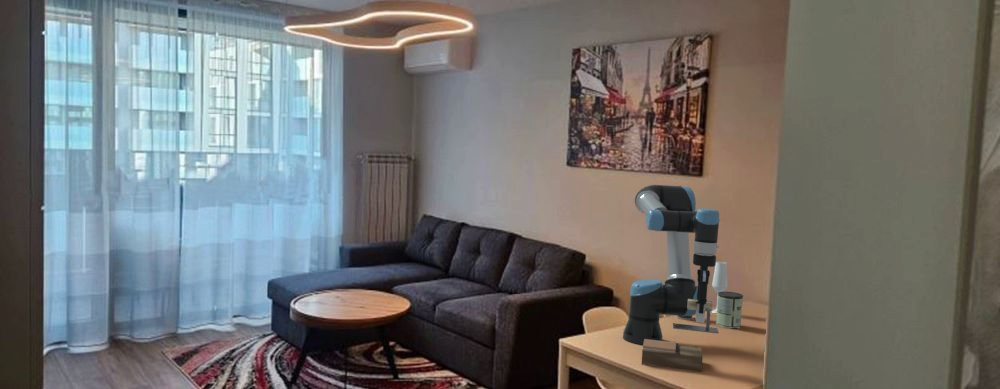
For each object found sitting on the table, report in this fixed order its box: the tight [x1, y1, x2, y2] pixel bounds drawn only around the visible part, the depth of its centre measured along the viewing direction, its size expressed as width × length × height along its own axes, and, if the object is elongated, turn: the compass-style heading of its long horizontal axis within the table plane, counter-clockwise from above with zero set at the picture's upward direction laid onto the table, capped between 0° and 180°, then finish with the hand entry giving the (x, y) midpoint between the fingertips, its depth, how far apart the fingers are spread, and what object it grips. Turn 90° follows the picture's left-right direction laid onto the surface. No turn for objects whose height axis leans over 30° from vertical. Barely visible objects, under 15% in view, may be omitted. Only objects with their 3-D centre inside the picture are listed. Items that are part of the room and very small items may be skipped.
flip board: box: [641, 343, 703, 373], centre depth 236 cm, size 12×20×6 cm, turn 76°
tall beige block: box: [672, 299, 719, 334], centre depth 233 cm, size 15×6×10 cm, turn 76°
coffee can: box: [715, 291, 744, 329], centre depth 292 cm, size 10×10×14 cm
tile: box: [642, 339, 677, 353], centre depth 237 cm, size 9×11×1 cm
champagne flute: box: [711, 261, 728, 314], centre depth 315 cm, size 7×7×24 cm
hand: (699, 320), depth 233 cm, fingers closed on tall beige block, 3 cm apart
